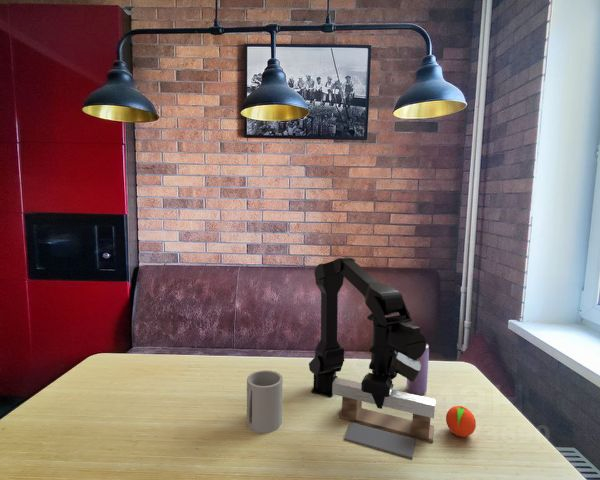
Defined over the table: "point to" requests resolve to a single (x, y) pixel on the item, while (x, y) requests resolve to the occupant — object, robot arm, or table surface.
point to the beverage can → (420, 376)
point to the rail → (386, 398)
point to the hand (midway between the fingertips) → (381, 404)
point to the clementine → (460, 421)
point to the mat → (381, 440)
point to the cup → (264, 401)
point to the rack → (387, 420)
